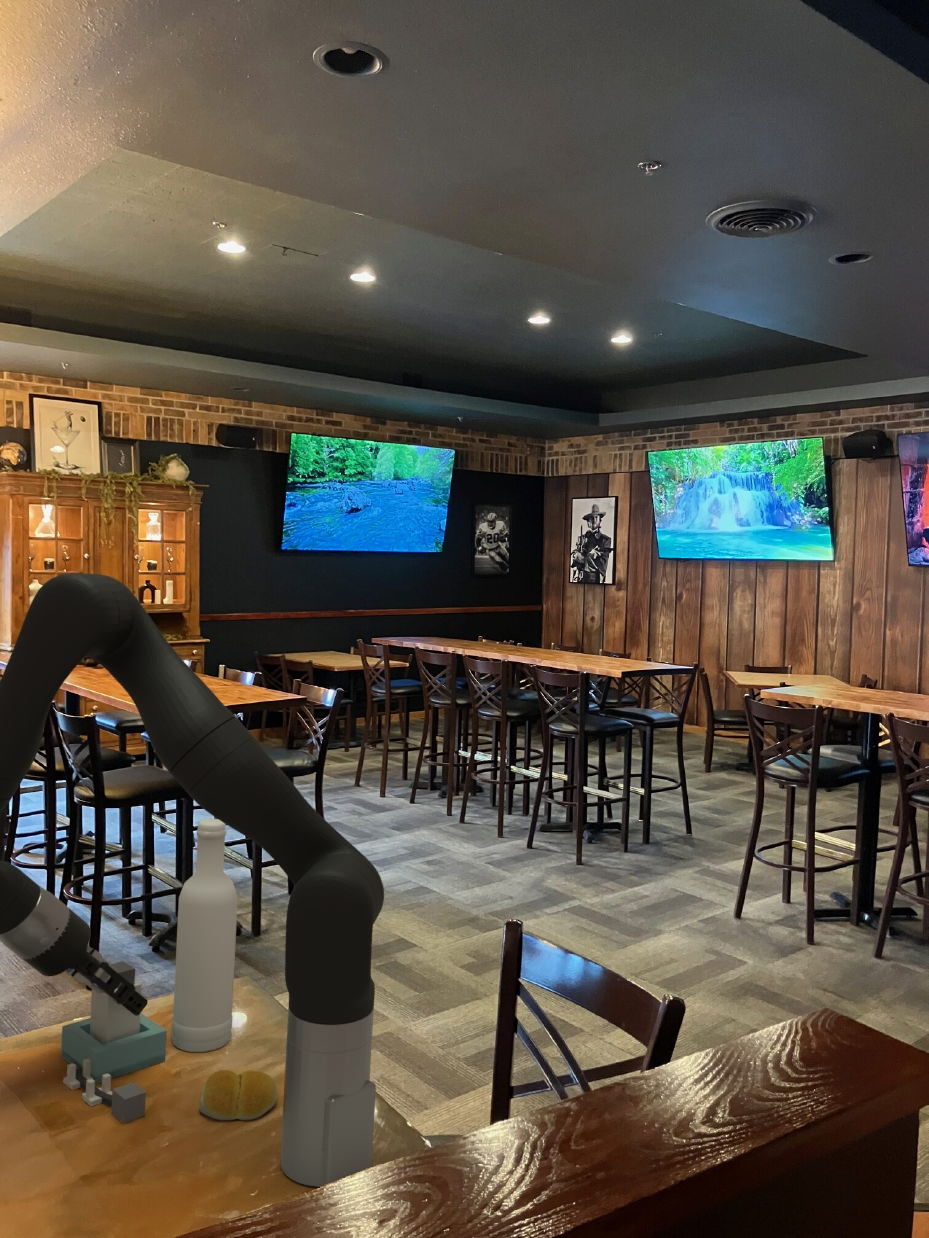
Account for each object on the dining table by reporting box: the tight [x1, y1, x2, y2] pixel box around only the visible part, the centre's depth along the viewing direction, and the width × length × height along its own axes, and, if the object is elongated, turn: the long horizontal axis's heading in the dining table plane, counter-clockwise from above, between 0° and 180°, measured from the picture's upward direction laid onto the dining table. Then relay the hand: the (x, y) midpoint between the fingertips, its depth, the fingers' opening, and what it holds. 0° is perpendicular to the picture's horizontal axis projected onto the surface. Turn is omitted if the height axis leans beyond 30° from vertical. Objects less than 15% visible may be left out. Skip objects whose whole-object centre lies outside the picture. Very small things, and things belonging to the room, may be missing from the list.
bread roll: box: [199, 1069, 278, 1121], centre depth 118 cm, size 8×9×4 cm
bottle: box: [171, 818, 239, 1053], centre depth 133 cm, size 8×8×30 cm
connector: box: [90, 960, 143, 1045], centre depth 127 cm, size 4×4×11 cm
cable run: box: [62, 1058, 147, 1124], centre depth 118 cm, size 14×4×3 cm, turn 47°
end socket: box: [60, 1012, 168, 1086], centre depth 127 cm, size 10×10×4 cm
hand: (125, 997), depth 128 cm, fingers open, 8 cm apart
